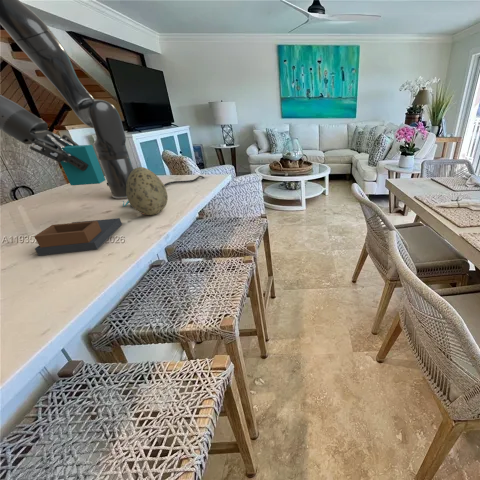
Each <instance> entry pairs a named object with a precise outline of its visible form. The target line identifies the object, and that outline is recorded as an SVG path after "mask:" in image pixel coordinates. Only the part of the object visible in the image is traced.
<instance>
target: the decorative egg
mask: <svg viewBox="0 0 480 480" xmlns="http://www.w3.org/2000/svg"><path fill="white" fill-rule="evenodd" d="M133 169H134V170H133V171H132V172H131V173H130V175H129V177H128V179H127V183H126V195H127V198H126V199H127V201H129V203H128V204H129V205H130V206H131V207H132V208H133V209H134V210H135V211H137V212H138V213H141V214H143V215H148V216H154V215H158V214H159V213H161V212H162V211H163V210H164V209H165V208H166V206H167V204H168V199H169V198H168V197H169V195H168V191H167V188H166V186H164V184H165V183H164V182H163V181H162V180H161V179H160V178H159V176H158V175H157V174H156V173H155V172H153V171H152V170H150V169H148V168H146V167H143V166H137V167H135V168H133Z"/></svg>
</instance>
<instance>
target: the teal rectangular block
mask: <svg viewBox="0 0 480 480" xmlns="http://www.w3.org/2000/svg"><path fill="white" fill-rule="evenodd" d="M64 147H65V148H64V149H65V150H66V151H68V152H69V153H71V154H72V156H75V157H77V158H78V159H80V160H82V161H83V162H85V163H87V164H88V167H87V169H86V170H84V171H82V170H80V169H79V168H77V167H75V166H73V165H72V164H70V163H68V162H67V163H66V162H64V161H61V162H60V165H61V168H62V169H63V171H64V174H65V176H66V178H67V181H68V182H69V185H70V186H81V185H83V186H86V185H99V184H102V183H103V182H105V181H106V177H105V174H104V172H103V169H102V166H101V164H100V161H99V158H98V156H97V153H96V150H95V148H94V145H93V144H81V145H80V144H78V145H77V146H64Z"/></svg>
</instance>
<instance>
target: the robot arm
mask: <svg viewBox="0 0 480 480" xmlns="http://www.w3.org/2000/svg"><path fill="white" fill-rule="evenodd" d="M0 26H1V27H2V28H3V29H4V30H5V31H6V33H7V34H8V35H9V36H10V37H11V39H12V40H13V41H14V43H16V44H17V46H18V47H19V48H20V49H21V50H22V51H23V53H24V54H25V55H26V56H27V57H28V59H30V60H31V62H32V63H33V64H34V66H36V67H37V68H38V69H39V71H40V72H41V73H42V74H43V75H44V76H45V77H46V78H47V80H48V81H49V82H50V83H51V84H52V85H53V86H54V87H55V89H56V90H57V91H58V92H59V93H60V95H61V96H62V97H63V99H64V100H65V102H66V103H67V104H68V106H69V107H70V109H72V111H73V113H74V115H76V117H77V119H79V120H80V121H81V122H82V123H83V124H84V125H85V126H86V127H89V128H91V129H93V131H94V133H95V141H93V143H92V145H93V149H94V151H95V154H96V156H97V159H98V162H99V164H100V167H101V169H102V172H103V175H104V177H105V181H106V186H107V187H108V188H109V191H110V194H111V196H112V198H113V199H115V200H116V199H117V200H118V199H119V200H123V199H128V198H127V195H126V183H127V179H128V177H129V175H130V173H131V172H132V171H133V170H134V169H135V168H134V167H133V164H132V161H131V158H130V154H129V151H128V149H127V144H126V142H127V138H126V133H125V129H124V126H123V122H122V119H121V116H120V113H119V112H118V110H117V108H116V107H115V105H113V104H112V103H111V102H109V101H106V100H103V99H95V98H94V97H93V96H92V94H90V93H89V91H88V90H87V88H85V86H84V85H83V84H82V82H81V81H80V80H79V77H78V76H77V73H76V71H75V69H74V66H73V64H72V61H71V58H70V56H69V54H68V53H67V51H66V50H65V48H64V46H63V45H62V44H61V43H62V42H61V41H59V39H58V38H57V37H56V35H55V34H54V33H53V31H52V30H51V29H50V27H48V25H47V24H46V23H45V22H44V21H43V20H42V19H41V18H40V16H38V15H37V14H36V13H35V12H34V11H33V10H32V9H30V8H29V7H28V6H27V5H26V4H24V3H23V2H22V1H21V0H0ZM48 128H49V126H48V123H47V122H46V121H45V120H43V119H41V118H40V117H38V116H37V115H36V114H34V113H33V112H31V111H29V110H27V109H26V108H25V107H23V106H21V105H20V104H18V103H17V102H16V101H13V100H12V99H9V98H7V97H6V96H4V95H2V94H0V131H2V132H3V133H5V134H7V135H8V136H10V137H12V138H14V139H15V140H17V141H19V142H21V143H23V144H24V145H30V146H29V149H30V150H32V151H33V152H36V153H37V154H39V155H42V156H45V157H47V158H49V159H51V160H53V161H55V162H58V163H61V161H64V162H66V163H67V162H68V163H70V164H72V165H73V166H75V167H77V168H79V169H80V170H82V171H84V170H86V169H87V167H88V164H87V163H85V162H83V161H82V160H80V159H78V158H77V157H75V156H72V154H71V153H69V152H68V151H66V150H65V149H64V148H65V147H64V146H77V145H79V144H78V143H77V142H76V141H74V140H73V139H72V138H71V137H69V136H68V135H66V134H62V136H60V135H58V134H57V133H55V132H52V131H50V130H49V129H48ZM200 178H201V179H205V176H203V175H198V176H197V177H195V178H194V179H189V180H173V181H169V182H166V183H163V184H164V186H165V187H166V186H168V185H171V184H179V183H192V182H196V181H198V180H199V179H200Z"/></svg>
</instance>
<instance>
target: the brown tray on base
mask: <svg viewBox="0 0 480 480" xmlns="http://www.w3.org/2000/svg"><path fill="white" fill-rule="evenodd" d="M121 226H123V223H122V220H121V218H120V217H116V218H106V219H94V220H84V221H72V222H69V223H57V224H50V226H47V227H46V228H45V229H43V230H42V231H40V232H39V233H37V234H35V235H34V237H33V238H34V239H35V241H36V242H37V244H38V246H36V247H35V248H34V251H35V252H36V254H37V255H38V257H42V256H50V255H59V254H68V253H77V252H86V251H87V252H88V251H94V250H99V248H101V247H102V246H103V244H104V243H105V242H106V241H107V240H108V239H109V238H111V236H112V235H114V233H116V232H117V230H118V229H119V228H120V227H121Z"/></svg>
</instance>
